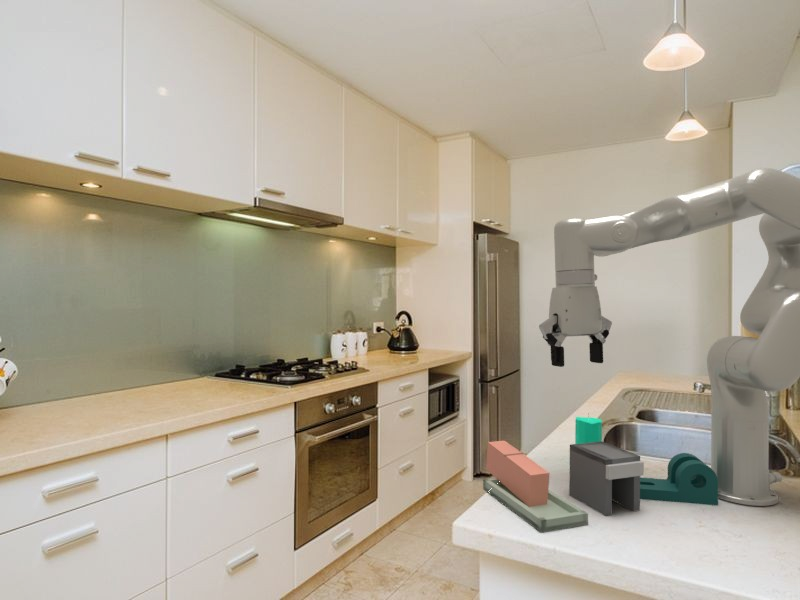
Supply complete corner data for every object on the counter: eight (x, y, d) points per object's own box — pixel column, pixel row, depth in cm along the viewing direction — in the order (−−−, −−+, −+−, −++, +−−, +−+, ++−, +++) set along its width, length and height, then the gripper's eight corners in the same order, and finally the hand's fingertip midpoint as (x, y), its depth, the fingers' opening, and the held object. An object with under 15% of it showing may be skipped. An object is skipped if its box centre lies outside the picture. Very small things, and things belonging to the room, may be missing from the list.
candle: (571, 464, 118) (572, 413, 118) (578, 457, 123) (579, 409, 123) (598, 469, 114) (598, 417, 114) (604, 462, 119) (604, 412, 119)
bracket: (703, 493, 101) (703, 454, 101) (718, 506, 95) (718, 464, 95) (609, 485, 105) (609, 448, 105) (616, 498, 98) (617, 458, 98)
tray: (523, 484, 105) (523, 474, 105) (588, 524, 86) (588, 513, 86) (483, 489, 102) (483, 479, 102) (541, 532, 83) (541, 520, 83)
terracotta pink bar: (502, 467, 108) (504, 440, 107) (547, 504, 92) (549, 472, 92) (486, 469, 106) (487, 441, 106) (528, 506, 91) (530, 475, 91)
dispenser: (643, 512, 91) (643, 457, 91) (608, 517, 89) (609, 461, 89) (601, 490, 101) (601, 441, 101) (569, 495, 99) (569, 444, 99)
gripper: (595, 280, 108) (598, 359, 108) (528, 281, 102) (530, 365, 102) (622, 278, 101) (624, 363, 101) (551, 279, 95) (554, 369, 95)
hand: (577, 364), depth 102 cm, fingers open, 9 cm apart
